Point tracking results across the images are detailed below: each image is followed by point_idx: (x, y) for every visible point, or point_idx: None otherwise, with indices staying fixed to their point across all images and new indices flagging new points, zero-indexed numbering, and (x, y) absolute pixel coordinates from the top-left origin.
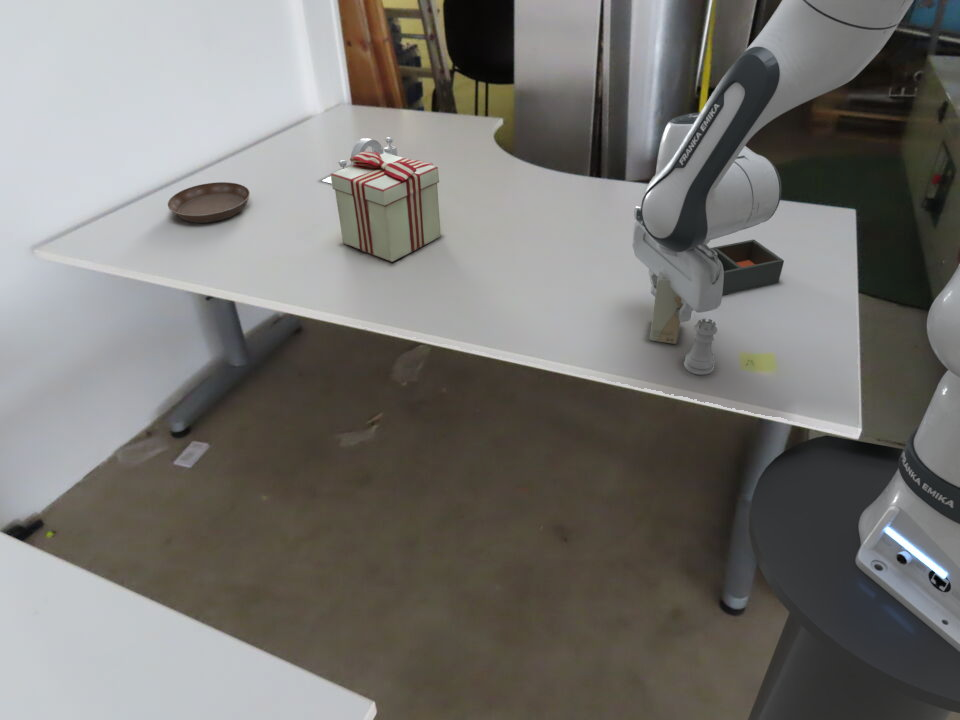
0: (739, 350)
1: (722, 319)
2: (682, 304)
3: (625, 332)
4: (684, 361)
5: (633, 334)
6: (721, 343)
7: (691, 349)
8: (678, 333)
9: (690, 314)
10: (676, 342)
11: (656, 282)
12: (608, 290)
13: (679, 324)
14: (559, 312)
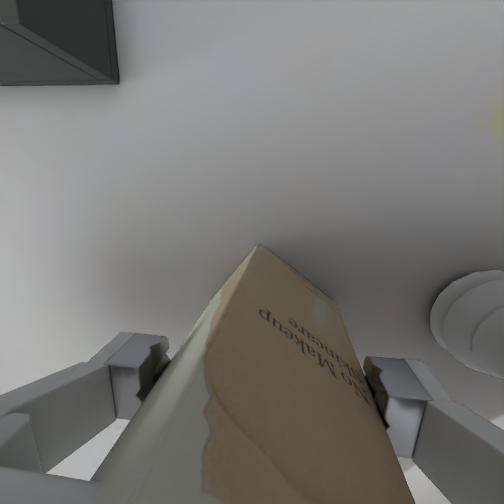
0: (480, 118)
1: (270, 50)
2: (387, 437)
3: None
4: (441, 344)
5: None
6: (404, 157)
7: (476, 356)
8: (292, 269)
9: (437, 386)
10: (335, 304)
11: (92, 416)
12: (8, 317)
13: (340, 333)
14: (89, 462)
